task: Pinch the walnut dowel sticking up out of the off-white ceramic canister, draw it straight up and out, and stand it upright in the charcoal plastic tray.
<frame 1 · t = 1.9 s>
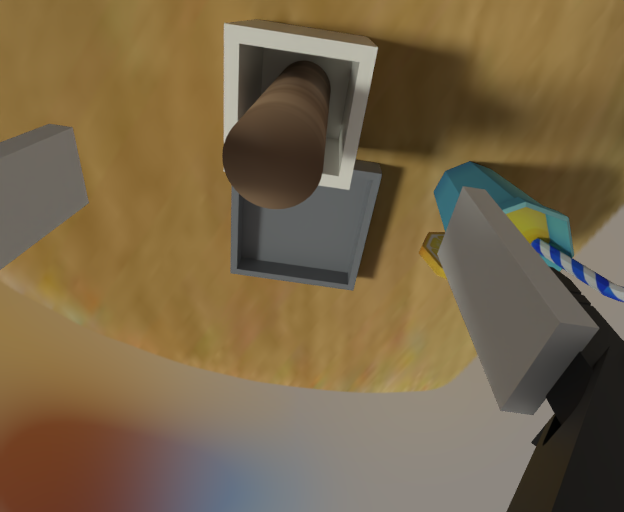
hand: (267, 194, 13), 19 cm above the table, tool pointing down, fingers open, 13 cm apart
dowel: (304, 90, 28), point 1 cm above the table, touching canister
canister: (305, 87, 29), on the table
cup: (474, 189, 33), on the table
tray: (301, 215, 35), on the table
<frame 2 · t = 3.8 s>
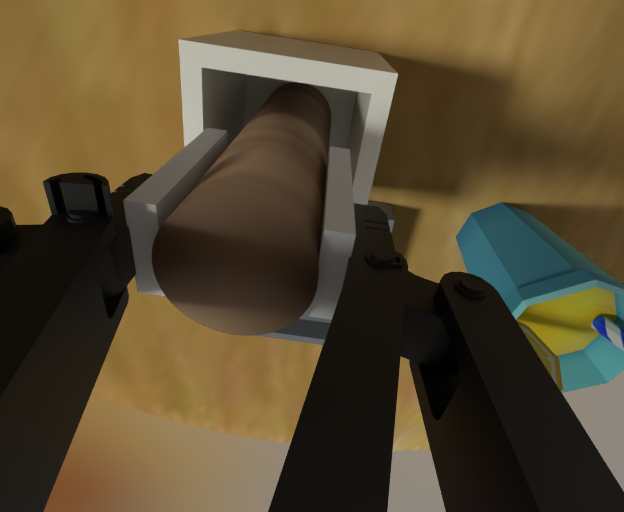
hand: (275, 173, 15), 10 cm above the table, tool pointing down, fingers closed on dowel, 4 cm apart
dowel: (297, 118, 22), point 1 cm above the table, touching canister, gripper
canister: (299, 114, 23), on the table
cup: (505, 234, 27), on the table
tray: (296, 262, 29), on the table
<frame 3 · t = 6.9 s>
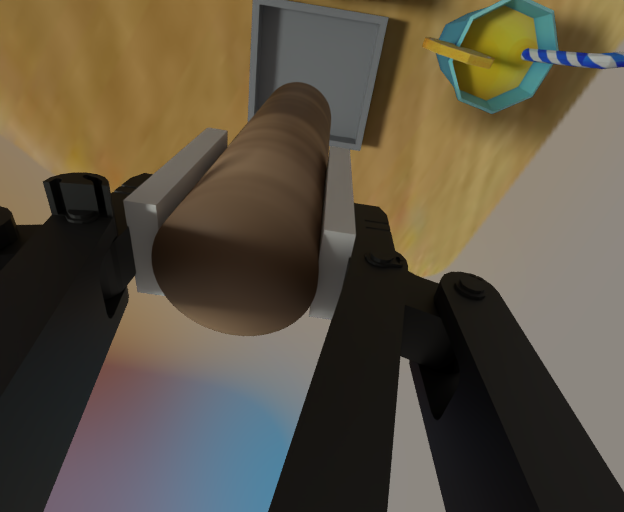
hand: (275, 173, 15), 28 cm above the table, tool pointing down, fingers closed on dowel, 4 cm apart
dowel: (297, 118, 22), point 19 cm above the table, touching gripper
cup: (472, 45, 36), on the table
tray: (313, 76, 38), on the table
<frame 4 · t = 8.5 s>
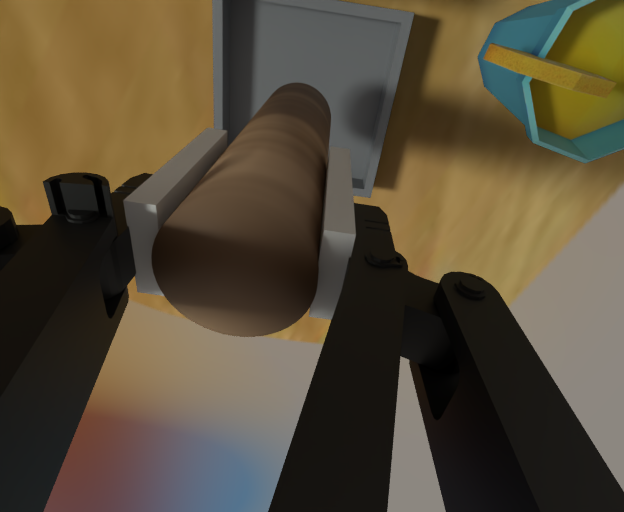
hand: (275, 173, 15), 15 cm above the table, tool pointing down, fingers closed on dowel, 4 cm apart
dowel: (297, 118, 22), point 6 cm above the table, touching gripper
cup: (531, 53, 25), on the table
tray: (304, 96, 27), on the table
when the fingers open (11 cm above the table, at t = 9.9 s): dowel drops 1 cm, resting on tray.
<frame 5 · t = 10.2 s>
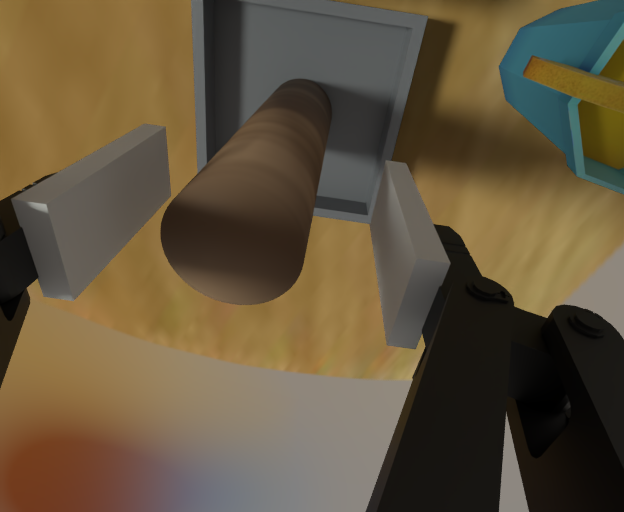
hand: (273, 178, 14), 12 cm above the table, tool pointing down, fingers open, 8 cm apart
dowel: (300, 113, 24), point 1 cm above the table, touching tray
cup: (560, 62, 22), on the table
tray: (300, 111, 24), on the table
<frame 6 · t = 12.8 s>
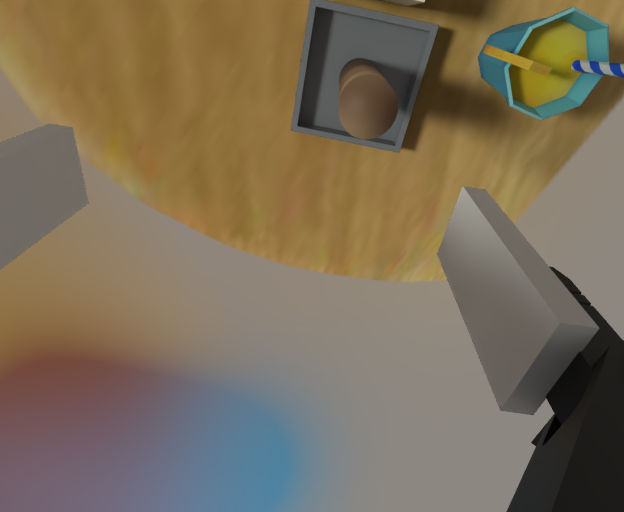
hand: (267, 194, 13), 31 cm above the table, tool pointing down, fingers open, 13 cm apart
dowel: (358, 79, 39), point 1 cm above the table, touching tray
cup: (513, 56, 38), on the table
tray: (358, 78, 39), on the table
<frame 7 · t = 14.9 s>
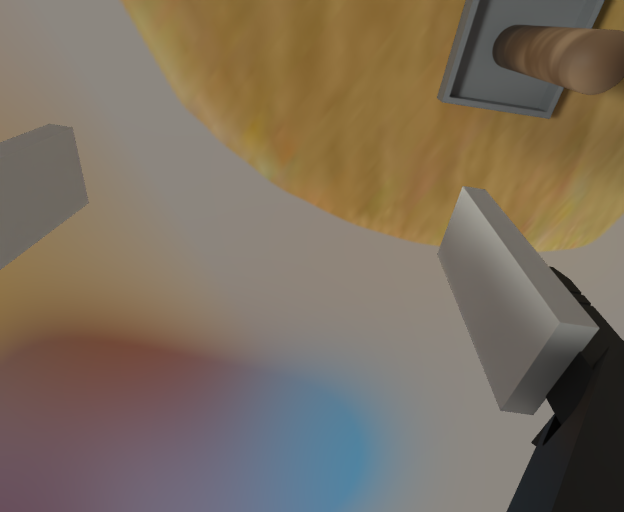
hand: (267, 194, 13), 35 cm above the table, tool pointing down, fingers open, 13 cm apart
dowel: (512, 47, 39), point 1 cm above the table, touching tray
tray: (510, 46, 40), on the table
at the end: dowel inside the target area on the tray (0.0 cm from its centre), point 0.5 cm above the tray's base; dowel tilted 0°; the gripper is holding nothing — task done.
